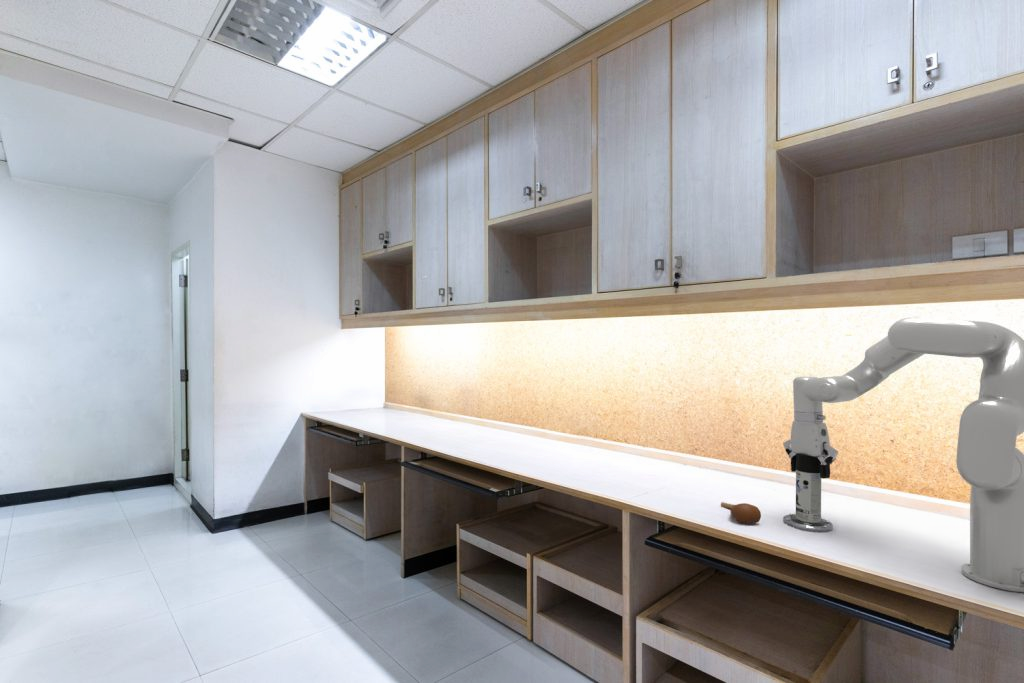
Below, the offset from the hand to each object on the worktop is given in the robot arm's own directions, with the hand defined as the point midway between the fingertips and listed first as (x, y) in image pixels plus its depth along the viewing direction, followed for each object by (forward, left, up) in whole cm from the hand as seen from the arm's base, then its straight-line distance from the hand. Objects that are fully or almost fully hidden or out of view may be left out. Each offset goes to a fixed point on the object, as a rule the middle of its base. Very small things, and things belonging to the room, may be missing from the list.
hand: (810, 474), depth 153 cm
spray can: (0, 0, -14) cm, 14 cm away
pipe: (+15, +15, -16) cm, 26 cm away
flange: (+1, 0, -15) cm, 15 cm away
